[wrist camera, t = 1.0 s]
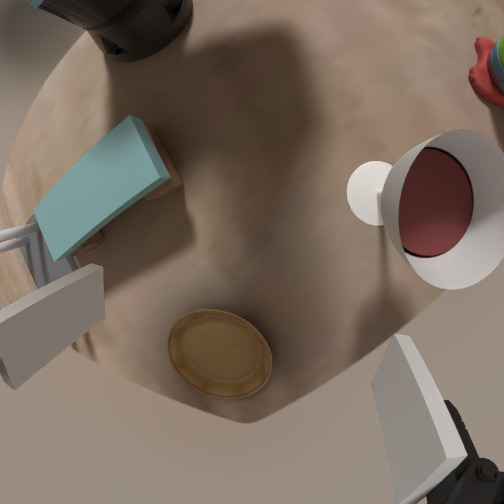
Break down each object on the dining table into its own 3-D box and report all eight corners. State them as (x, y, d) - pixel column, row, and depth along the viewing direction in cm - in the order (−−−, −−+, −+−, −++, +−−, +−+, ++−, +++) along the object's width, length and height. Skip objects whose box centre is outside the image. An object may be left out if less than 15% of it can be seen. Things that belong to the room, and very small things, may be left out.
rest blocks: (70, 198, 38) (47, 201, 33) (153, 126, 33) (133, 120, 29) (92, 249, 39) (71, 257, 34) (183, 185, 35) (165, 186, 30)
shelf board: (66, 257, 35) (54, 261, 32) (45, 208, 34) (33, 210, 31) (170, 177, 29) (160, 177, 27) (141, 118, 28) (129, 115, 26)
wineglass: (422, 188, 30) (535, 202, 10) (379, 243, 32) (457, 317, 13) (374, 142, 29) (456, 97, 10) (328, 199, 32) (364, 223, 13)
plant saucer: (215, 279, 37) (209, 285, 34) (297, 353, 37) (296, 364, 35) (156, 341, 41) (148, 349, 39) (227, 402, 42) (223, 413, 39)
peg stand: (21, 235, 42) (-20, 247, 32) (49, 201, 39) (1, 210, 29) (60, 319, 44) (23, 343, 34) (94, 298, 41) (51, 325, 31)
